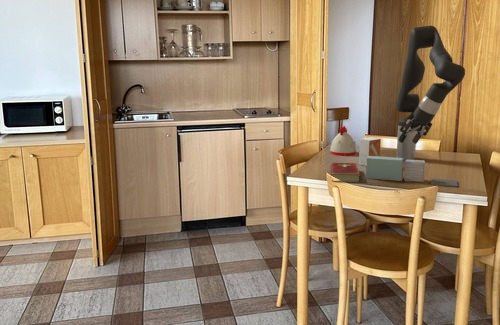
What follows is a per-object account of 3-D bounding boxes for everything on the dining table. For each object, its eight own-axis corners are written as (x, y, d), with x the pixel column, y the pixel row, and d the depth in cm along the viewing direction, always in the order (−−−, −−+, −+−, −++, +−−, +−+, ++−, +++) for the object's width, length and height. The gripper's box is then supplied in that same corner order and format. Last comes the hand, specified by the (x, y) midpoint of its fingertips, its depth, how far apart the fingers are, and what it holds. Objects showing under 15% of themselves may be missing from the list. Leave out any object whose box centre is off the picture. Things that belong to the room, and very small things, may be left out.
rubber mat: (431, 179, 206) (431, 178, 206) (456, 181, 203) (456, 180, 203) (431, 185, 198) (431, 183, 198) (457, 187, 195) (457, 185, 195)
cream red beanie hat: (325, 154, 260) (326, 126, 257) (336, 149, 272) (337, 123, 268) (349, 157, 253) (350, 129, 249) (359, 152, 264) (360, 125, 260)
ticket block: (367, 175, 215) (368, 155, 213) (402, 178, 210) (403, 157, 208) (366, 178, 210) (366, 157, 208) (401, 180, 205) (403, 160, 203)
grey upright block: (423, 179, 207) (425, 160, 205) (423, 182, 202) (425, 162, 200) (404, 178, 209) (405, 159, 207) (404, 181, 205) (405, 161, 203)
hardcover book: (331, 182, 206) (331, 172, 205) (330, 170, 226) (330, 161, 225) (359, 183, 204) (359, 173, 203) (356, 171, 225) (356, 162, 224)
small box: (368, 166, 231) (369, 140, 228) (358, 164, 236) (359, 138, 233) (379, 164, 235) (381, 138, 232) (370, 162, 240) (371, 136, 237)
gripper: (432, 105, 196) (412, 138, 205) (409, 102, 189) (389, 136, 197) (445, 115, 191) (424, 148, 199) (422, 112, 184) (401, 146, 192)
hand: (407, 142), depth 198 cm, fingers open, 8 cm apart
